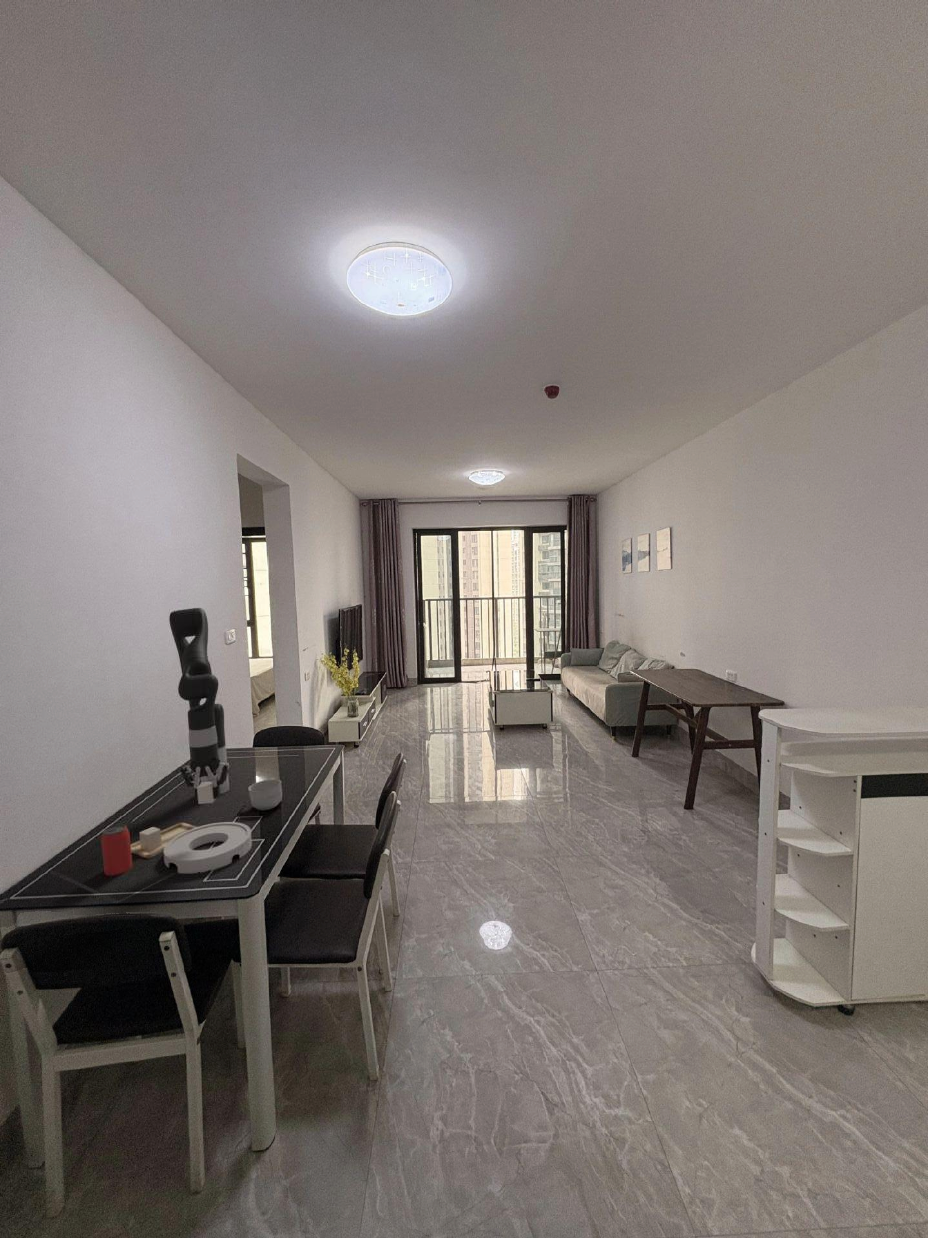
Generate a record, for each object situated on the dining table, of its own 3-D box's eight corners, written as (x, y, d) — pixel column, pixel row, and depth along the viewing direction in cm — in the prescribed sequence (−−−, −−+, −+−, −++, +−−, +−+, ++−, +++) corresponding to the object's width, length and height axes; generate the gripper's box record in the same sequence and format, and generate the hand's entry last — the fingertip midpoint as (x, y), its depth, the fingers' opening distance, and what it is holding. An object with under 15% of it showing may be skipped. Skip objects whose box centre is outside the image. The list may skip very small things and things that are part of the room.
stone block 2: (198, 804, 161) (197, 787, 161) (203, 798, 165) (202, 782, 165) (212, 802, 161) (211, 786, 161) (217, 797, 165) (216, 781, 165)
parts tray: (124, 851, 163) (124, 847, 163) (182, 826, 178) (181, 822, 178) (148, 860, 157) (147, 856, 157) (205, 833, 172) (204, 829, 172)
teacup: (272, 814, 185) (270, 791, 184) (243, 812, 187) (241, 790, 186) (293, 797, 198) (291, 775, 198) (266, 796, 200) (264, 775, 200)
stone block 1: (140, 848, 163) (139, 832, 162) (154, 842, 166) (152, 826, 166) (148, 851, 161) (147, 835, 160) (161, 845, 164) (160, 829, 164)
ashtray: (155, 881, 146) (153, 867, 146) (174, 842, 168) (173, 829, 168) (248, 865, 152) (247, 851, 152) (255, 829, 175) (254, 817, 174)
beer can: (113, 865, 155) (108, 824, 154) (137, 863, 155) (133, 822, 154) (99, 878, 148) (95, 835, 147) (125, 876, 149) (120, 833, 148)
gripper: (172, 747, 157) (177, 806, 159) (223, 744, 159) (228, 802, 160) (183, 740, 165) (188, 795, 166) (232, 736, 166) (236, 792, 168)
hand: (208, 798), depth 163 cm, fingers closed on stone block 2, 4 cm apart
